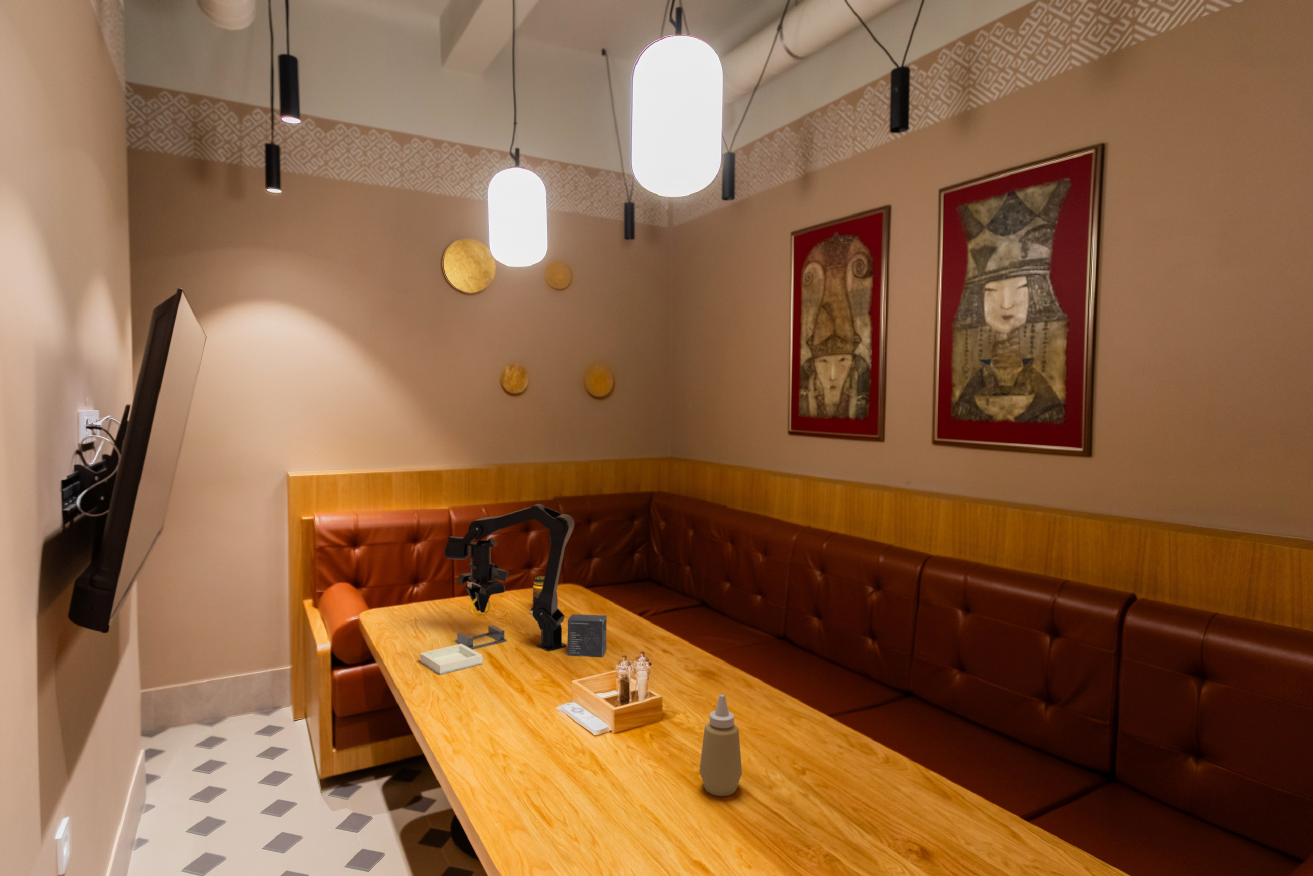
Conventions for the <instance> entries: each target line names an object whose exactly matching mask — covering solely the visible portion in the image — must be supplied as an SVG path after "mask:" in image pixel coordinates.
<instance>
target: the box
mask: <svg viewBox="0 0 1313 876" xmlns="http://www.w3.org/2000/svg"><path fill="white" fill-rule="evenodd" d="M607 617H608V616H607V615H602V614H601V615H600V614H580V613H579V614H577V613H576V614H575V613H574V614H573V613H572V614H571V615H570V616H569V618H567V653H566V654H567V656H574V657H575V656H577V657H578V656H579V657H596V658H597V657H598V658H599V657H600V658H602V657H604V655H605V654H606V652H607V626H608V625H607V623H608V621H607Z"/></svg>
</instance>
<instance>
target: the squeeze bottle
mask: <svg viewBox="0 0 1313 876" xmlns="http://www.w3.org/2000/svg"><path fill="white" fill-rule="evenodd" d="M726 697H727V696H726V695H725V694H719V695H718V699H717V704H716V708H715V710H712V711H711V712H710V713H709V722H708V723H707V724H706V725H705V726H704V731H703V736H702V737H703V739H702V746H701V754H700V763H699V773H700V777H701V780H702V783H703V787H704V790H705V792H707V793H709V794H710V795H713V796H716V797H728V796H731V795H733V794H735V792H736V791H737V788H738V786H739V783H740V780H741V777H742V774H743V771H742V770H743V769H742V755H741V745H740V744H741V742H740V731H739V730H740V729H739V727H738V726H737V725H736V724H735V715H734V713H733V712H731V711H730V710H729V708H728V707H729V706H728V702H727V698H726Z"/></svg>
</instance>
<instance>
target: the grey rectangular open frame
mask: <svg viewBox="0 0 1313 876" xmlns="http://www.w3.org/2000/svg"><path fill="white" fill-rule="evenodd" d="M487 628H488V629H487V630H488V631H487V632H484V633H479V634H475V635H469V634H467V633H465V632H463V631H460V632H457V633H456V639H455V640H454V641H455V643H457V645H458V644H463V645H465V646H467V647H468V648H470V649H472V650H475V649H480V648H484V647H489V646H493V645H497V644H501V643H505V642H507V639H506V638H505V630H504V629H503V628H500V627H497V626H495V625H493V624H492V625H488V626H487ZM486 636H488V637H490V638H492V639H494V641H491V642H485V643H481V644H477V645H474V639H477V638H481V637H486Z"/></svg>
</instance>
